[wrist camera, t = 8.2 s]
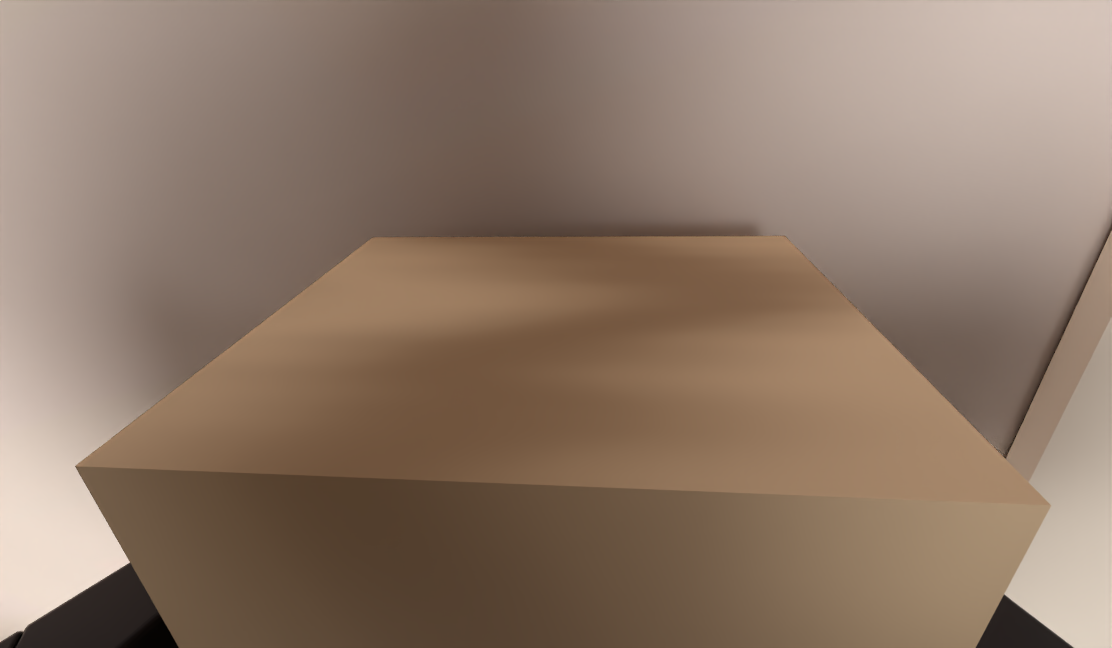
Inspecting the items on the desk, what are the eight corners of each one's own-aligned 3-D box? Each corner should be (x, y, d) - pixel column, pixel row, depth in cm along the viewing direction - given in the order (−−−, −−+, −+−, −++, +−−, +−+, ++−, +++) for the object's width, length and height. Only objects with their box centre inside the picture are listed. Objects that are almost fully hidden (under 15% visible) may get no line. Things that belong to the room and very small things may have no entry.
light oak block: (784, 235, 7) (1050, 505, 3) (732, 539, 10) (831, 917, 6) (372, 237, 8) (74, 465, 4) (428, 524, 11) (300, 858, 6)
